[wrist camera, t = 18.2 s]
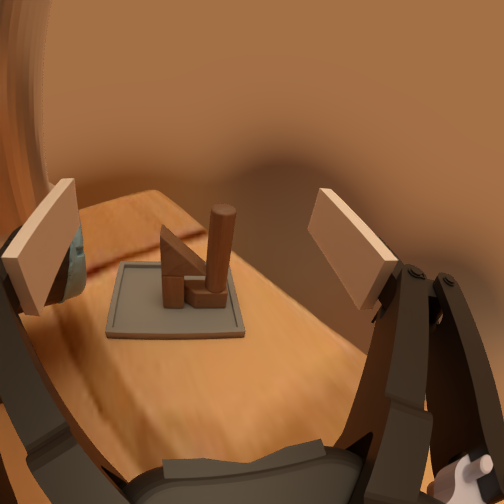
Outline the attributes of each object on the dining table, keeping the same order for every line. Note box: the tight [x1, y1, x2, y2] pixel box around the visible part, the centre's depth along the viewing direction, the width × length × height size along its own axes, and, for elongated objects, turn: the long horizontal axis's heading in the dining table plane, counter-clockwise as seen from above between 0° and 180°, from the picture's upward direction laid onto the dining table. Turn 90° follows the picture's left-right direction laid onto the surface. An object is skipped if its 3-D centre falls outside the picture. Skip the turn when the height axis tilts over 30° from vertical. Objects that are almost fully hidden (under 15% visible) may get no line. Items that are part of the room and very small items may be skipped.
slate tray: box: [105, 261, 245, 339], centre depth 49 cm, size 22×18×2 cm
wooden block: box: [160, 204, 236, 308], centre depth 44 cm, size 4×11×18 cm, turn 101°
